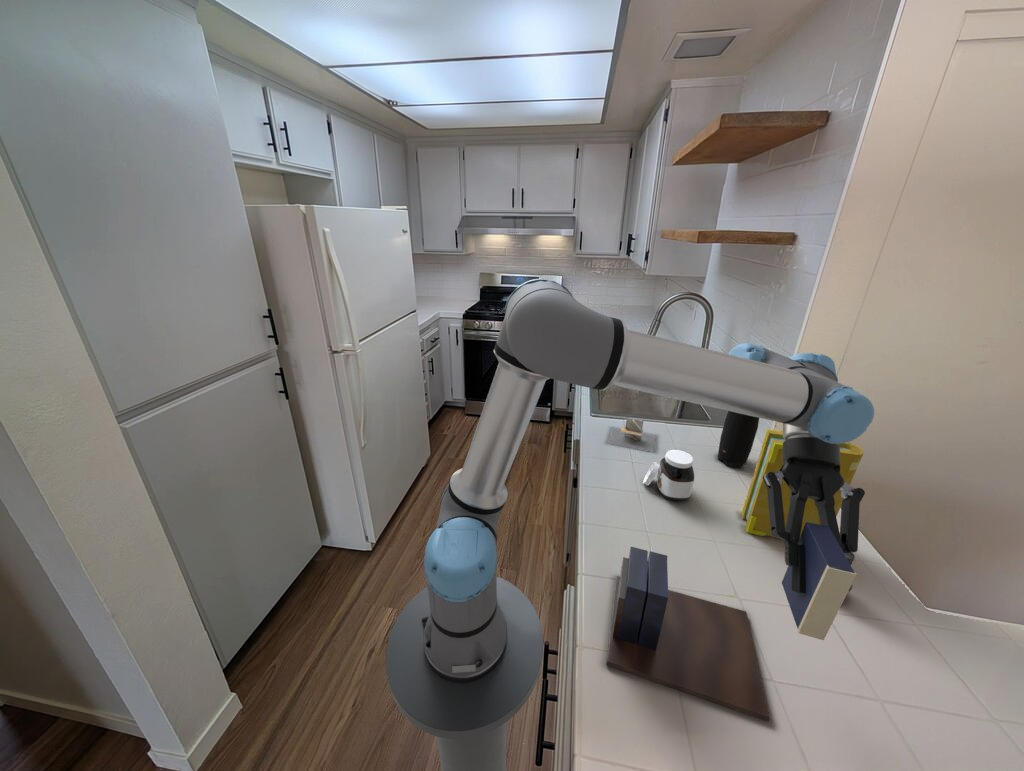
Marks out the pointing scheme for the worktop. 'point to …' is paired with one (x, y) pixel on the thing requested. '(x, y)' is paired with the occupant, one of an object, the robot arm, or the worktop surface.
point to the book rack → (682, 638)
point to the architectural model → (633, 436)
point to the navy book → (819, 582)
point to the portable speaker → (737, 438)
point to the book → (772, 462)
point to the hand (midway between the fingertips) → (813, 595)
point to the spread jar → (673, 475)
